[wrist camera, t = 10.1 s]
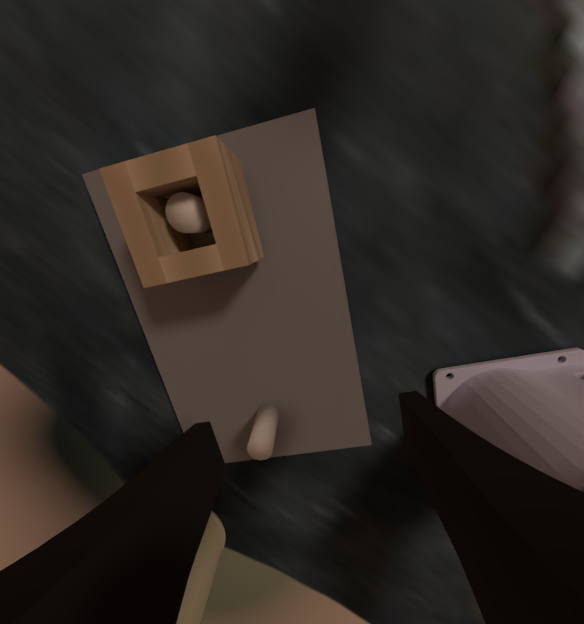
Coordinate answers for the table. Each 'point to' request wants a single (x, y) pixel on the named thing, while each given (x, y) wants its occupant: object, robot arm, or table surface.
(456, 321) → the table surface
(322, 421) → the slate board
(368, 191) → the table surface
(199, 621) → the can
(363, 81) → the table surface
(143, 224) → the ash collar
